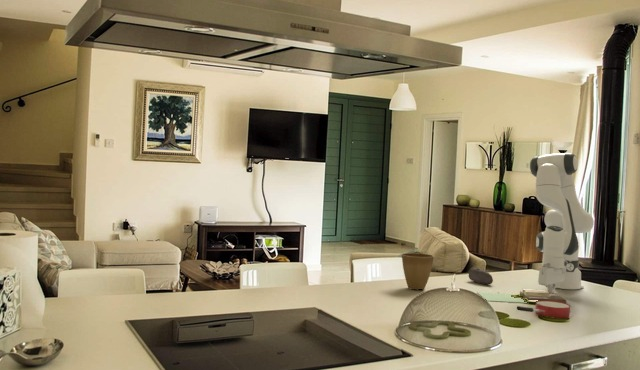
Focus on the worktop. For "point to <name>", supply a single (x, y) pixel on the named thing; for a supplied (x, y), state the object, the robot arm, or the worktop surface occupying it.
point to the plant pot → (417, 269)
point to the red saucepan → (549, 309)
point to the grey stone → (480, 276)
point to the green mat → (500, 297)
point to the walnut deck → (545, 298)
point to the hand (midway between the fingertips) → (551, 293)
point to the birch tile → (535, 293)
